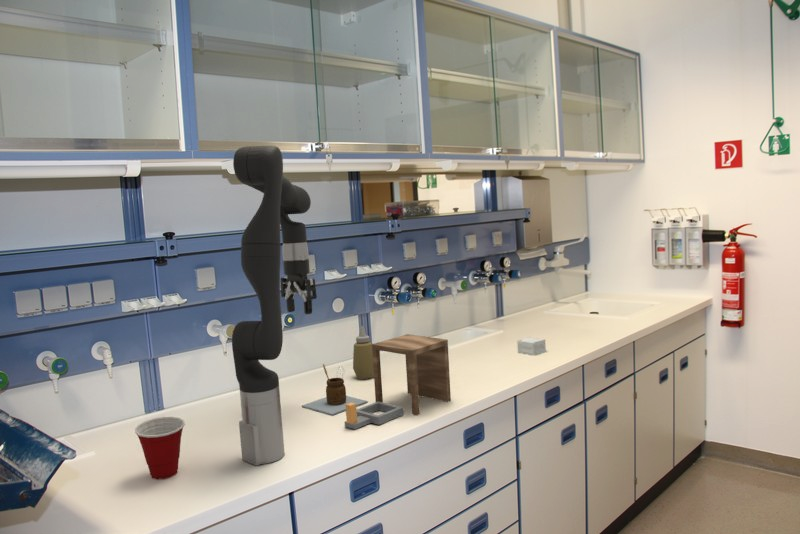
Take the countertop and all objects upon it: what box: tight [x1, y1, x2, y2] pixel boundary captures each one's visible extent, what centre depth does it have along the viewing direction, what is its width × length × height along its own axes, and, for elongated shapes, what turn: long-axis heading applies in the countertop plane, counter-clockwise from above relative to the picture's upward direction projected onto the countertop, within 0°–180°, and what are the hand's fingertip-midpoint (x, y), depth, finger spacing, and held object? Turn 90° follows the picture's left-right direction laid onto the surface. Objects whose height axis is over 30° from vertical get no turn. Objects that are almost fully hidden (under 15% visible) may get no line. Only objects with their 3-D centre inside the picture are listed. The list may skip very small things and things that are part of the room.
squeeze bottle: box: [352, 325, 374, 380], centre depth 215 cm, size 8×8×18 cm
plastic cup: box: [134, 416, 186, 480], centre depth 143 cm, size 11×11×12 cm
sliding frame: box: [344, 401, 405, 430], centre depth 171 cm, size 16×10×6 cm, turn 137°
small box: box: [516, 336, 547, 357], centre depth 237 cm, size 8×8×5 cm
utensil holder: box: [322, 363, 347, 405], centre depth 187 cm, size 6×6×12 cm
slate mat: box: [301, 395, 369, 417], centre depth 187 cm, size 14×14×1 cm
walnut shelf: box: [372, 333, 452, 416], centre depth 183 cm, size 16×16×18 cm
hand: (299, 312), depth 184 cm, fingers open, 8 cm apart
